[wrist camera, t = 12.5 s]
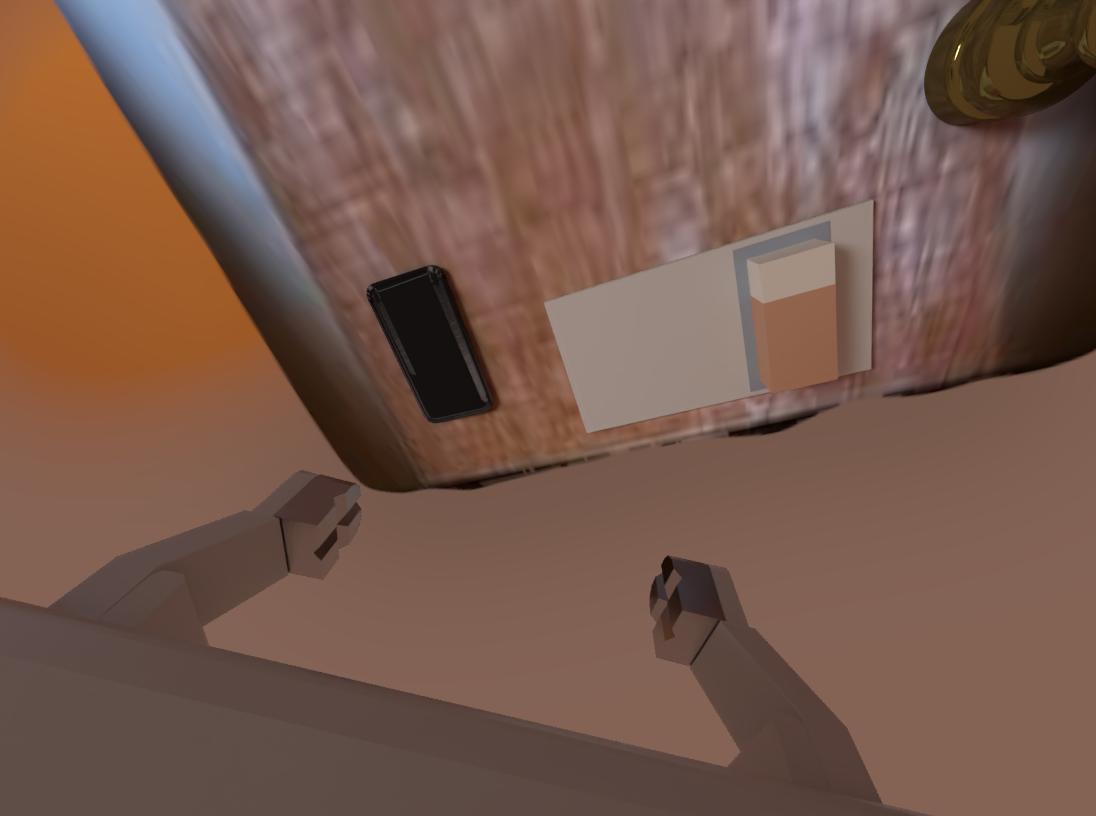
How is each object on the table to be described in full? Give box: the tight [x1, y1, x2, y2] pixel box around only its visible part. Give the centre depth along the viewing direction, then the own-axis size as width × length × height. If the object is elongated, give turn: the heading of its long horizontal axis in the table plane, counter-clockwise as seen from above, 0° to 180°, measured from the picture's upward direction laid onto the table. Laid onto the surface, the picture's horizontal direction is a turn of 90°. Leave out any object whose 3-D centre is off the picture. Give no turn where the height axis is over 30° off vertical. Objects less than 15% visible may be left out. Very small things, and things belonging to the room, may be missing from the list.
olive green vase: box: [924, 0, 1096, 125], centre depth 22 cm, size 7×7×10 cm
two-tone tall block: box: [746, 239, 838, 394], centre depth 33 cm, size 11×5×3 cm, turn 18°
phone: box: [367, 265, 493, 423], centre depth 40 cm, size 8×1×15 cm
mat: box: [544, 200, 873, 433], centre depth 36 cm, size 14×26×1 cm, turn 108°
